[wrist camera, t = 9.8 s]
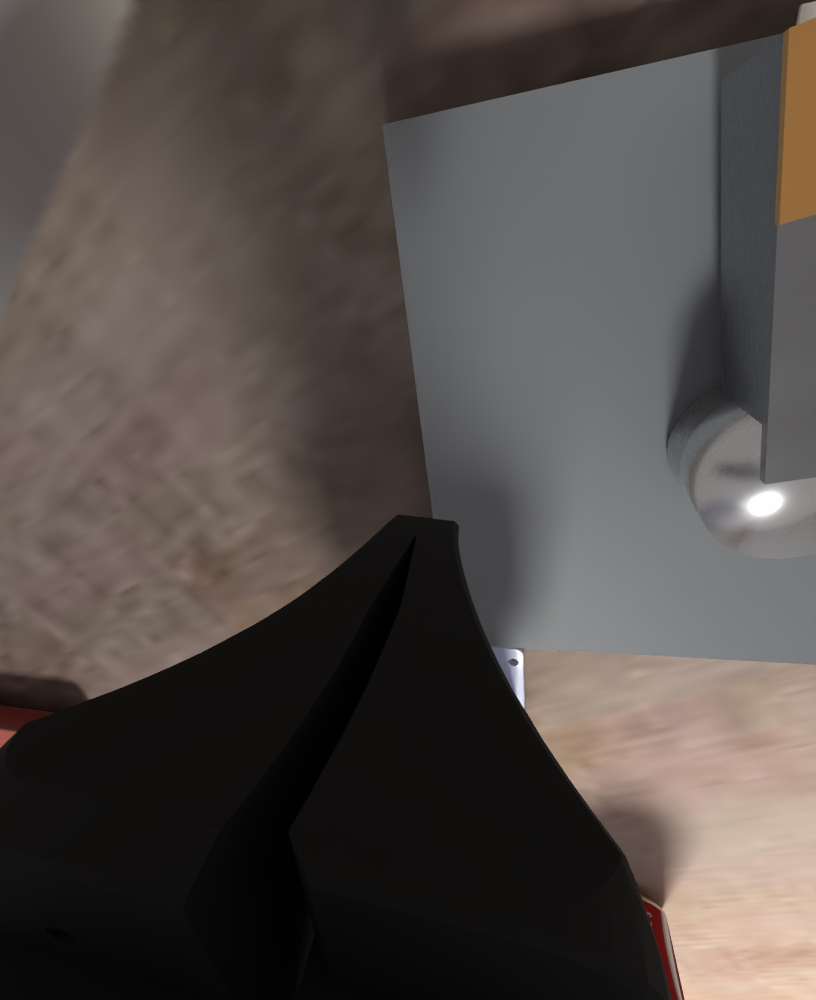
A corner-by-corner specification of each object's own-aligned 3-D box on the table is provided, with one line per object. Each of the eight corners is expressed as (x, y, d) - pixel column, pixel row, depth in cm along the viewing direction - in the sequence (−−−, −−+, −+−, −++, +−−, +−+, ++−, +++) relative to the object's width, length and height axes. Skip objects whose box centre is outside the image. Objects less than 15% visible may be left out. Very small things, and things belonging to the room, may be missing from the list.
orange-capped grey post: (871, 25, 10) (1034, -71, 7) (820, 491, 15) (901, 559, 12) (648, 111, 11) (698, 64, 8) (670, 512, 16) (706, 577, 13)
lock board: (972, 644, 18) (1009, 677, 17) (452, 621, 23) (448, 645, 22) (1445, -125, 9) (1615, -190, 7) (392, 118, 14) (378, 105, 12)
